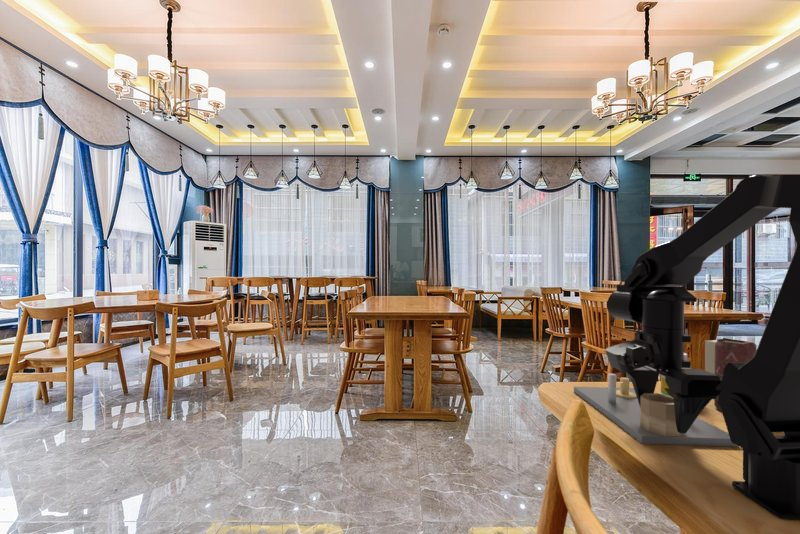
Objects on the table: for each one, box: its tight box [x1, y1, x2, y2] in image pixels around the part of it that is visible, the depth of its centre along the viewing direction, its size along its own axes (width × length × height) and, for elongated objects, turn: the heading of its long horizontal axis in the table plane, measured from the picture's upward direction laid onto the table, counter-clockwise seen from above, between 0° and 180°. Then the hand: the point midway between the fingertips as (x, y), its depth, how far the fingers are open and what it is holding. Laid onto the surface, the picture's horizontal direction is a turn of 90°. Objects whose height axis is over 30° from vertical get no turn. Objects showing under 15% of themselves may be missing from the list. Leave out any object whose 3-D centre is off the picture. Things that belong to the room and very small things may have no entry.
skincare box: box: [704, 339, 717, 374], centre depth 83 cm, size 6×4×12 cm
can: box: [713, 338, 757, 412], centre depth 73 cm, size 6×6×14 cm
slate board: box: [573, 373, 740, 448], centre depth 71 cm, size 25×15×7 cm, turn 178°
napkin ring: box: [640, 392, 682, 436], centre depth 61 cm, size 6×6×5 cm
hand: (661, 420), depth 61 cm, fingers open, 9 cm apart
